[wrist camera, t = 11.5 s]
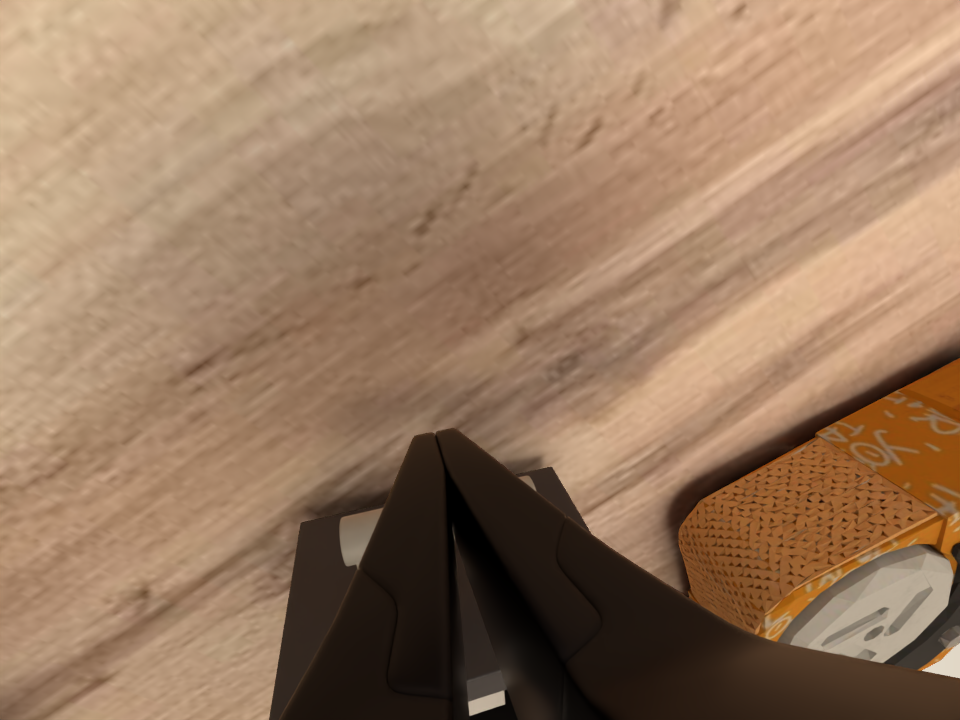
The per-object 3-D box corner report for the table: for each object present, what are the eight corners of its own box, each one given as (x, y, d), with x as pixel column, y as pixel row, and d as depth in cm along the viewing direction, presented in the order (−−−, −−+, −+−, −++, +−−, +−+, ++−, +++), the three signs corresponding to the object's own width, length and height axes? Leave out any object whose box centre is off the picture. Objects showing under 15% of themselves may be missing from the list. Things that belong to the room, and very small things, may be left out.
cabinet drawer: (271, 443, 16) (207, 655, 10) (553, 389, 18) (664, 532, 12) (360, 690, 25) (360, 898, 18) (548, 633, 27) (612, 801, 20)
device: (1098, 625, 29) (704, 838, 28) (951, 529, 36) (634, 697, 35) (1283, 363, 18) (632, 710, 17) (1014, 299, 25) (551, 541, 24)
